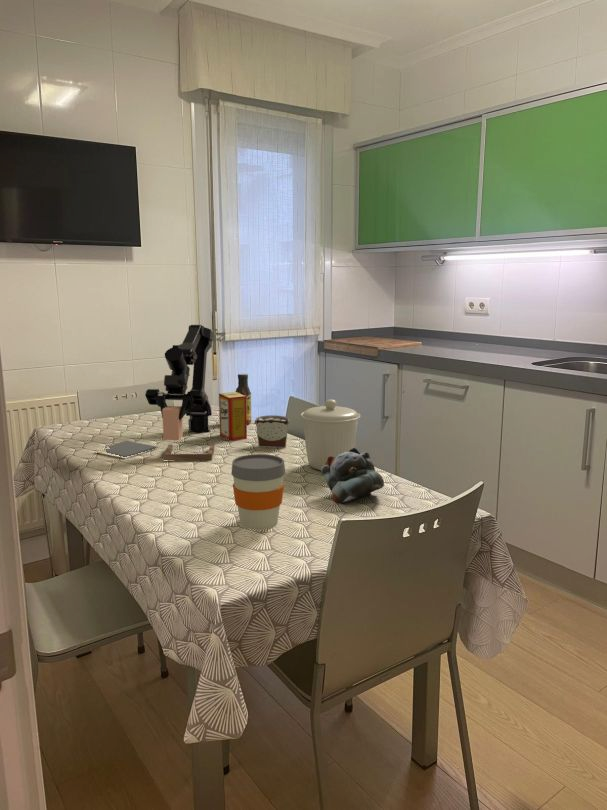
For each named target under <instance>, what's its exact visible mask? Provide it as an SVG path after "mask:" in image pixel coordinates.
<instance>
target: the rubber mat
mask: <svg viewBox="0 0 607 810" xmlns="http://www.w3.org/2000/svg"><path fill="white" fill-rule="evenodd" d="M107 446H108V447H109V448H110V449H106V452H107V453H111V454H115V455H119V456H123V457H127V456H131V455H135V454H138V453H141V452H145V451H148V450H152V449H155V448H156V449H157V446H156V445H152V444H151V445H150V444H146V443H142V442H135V441H131V440H130V441H129V440H124V441H121V442H118V443H114V444H111V445H107ZM104 447H105V448H107V447H106V446H104ZM152 451H153V450H152Z"/></svg>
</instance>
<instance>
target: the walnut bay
mask: <svg viewBox="0 0 607 810" xmlns="http://www.w3.org/2000/svg"><path fill="white" fill-rule="evenodd" d="M172 452H173V444H168V445H167V447H166V449H165V451H164V452H163V454H162V461H163V460H187V461H186V462H195V461H196V462H200V461H201V462H202V461H209V462H211V461H213V457H214V454H215V444H214V443H211V444H210V445H209V449H208V452H207V453H172ZM188 460H190V461H188Z"/></svg>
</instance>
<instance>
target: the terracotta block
mask: <svg viewBox="0 0 607 810" xmlns="http://www.w3.org/2000/svg"><path fill="white" fill-rule="evenodd" d="M181 406H182V405H181ZM181 406H180V405H178V406H177V405H176V406H175V405H173V406H171V405H167V406H166V407H165V408H164V409H162V414H161V416H162V415H163V419H162V434H163V436H162V437H163V441H180V440H181V439H182V438H183V437H184V432H183V431H184V430H183V428H184V425H183V424H184V423H183V418H182V419H181V420H179V413H180V410H181Z"/></svg>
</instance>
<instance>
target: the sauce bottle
mask: <svg viewBox="0 0 607 810" xmlns="http://www.w3.org/2000/svg"><path fill="white" fill-rule="evenodd" d="M237 379H238V380H237V381H238V383H237V385H238V386H237V387H236V388H235V389H236V390H235V392H237V393H239V394H242V395H244V396H246V414H247V425H249V423H250V424H251V423H252V392H251V390H250V387H249V382H248V381H249V374H248V373H238V374H237Z"/></svg>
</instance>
